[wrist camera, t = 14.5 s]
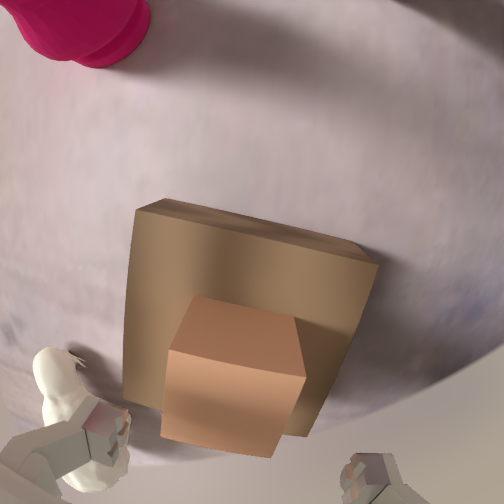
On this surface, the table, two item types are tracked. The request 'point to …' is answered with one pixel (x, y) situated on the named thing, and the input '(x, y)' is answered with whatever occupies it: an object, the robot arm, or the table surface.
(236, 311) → the terracotta cube
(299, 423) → the walnut stand
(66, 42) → the pepper mill
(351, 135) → the table surface
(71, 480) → the penguin figurine
